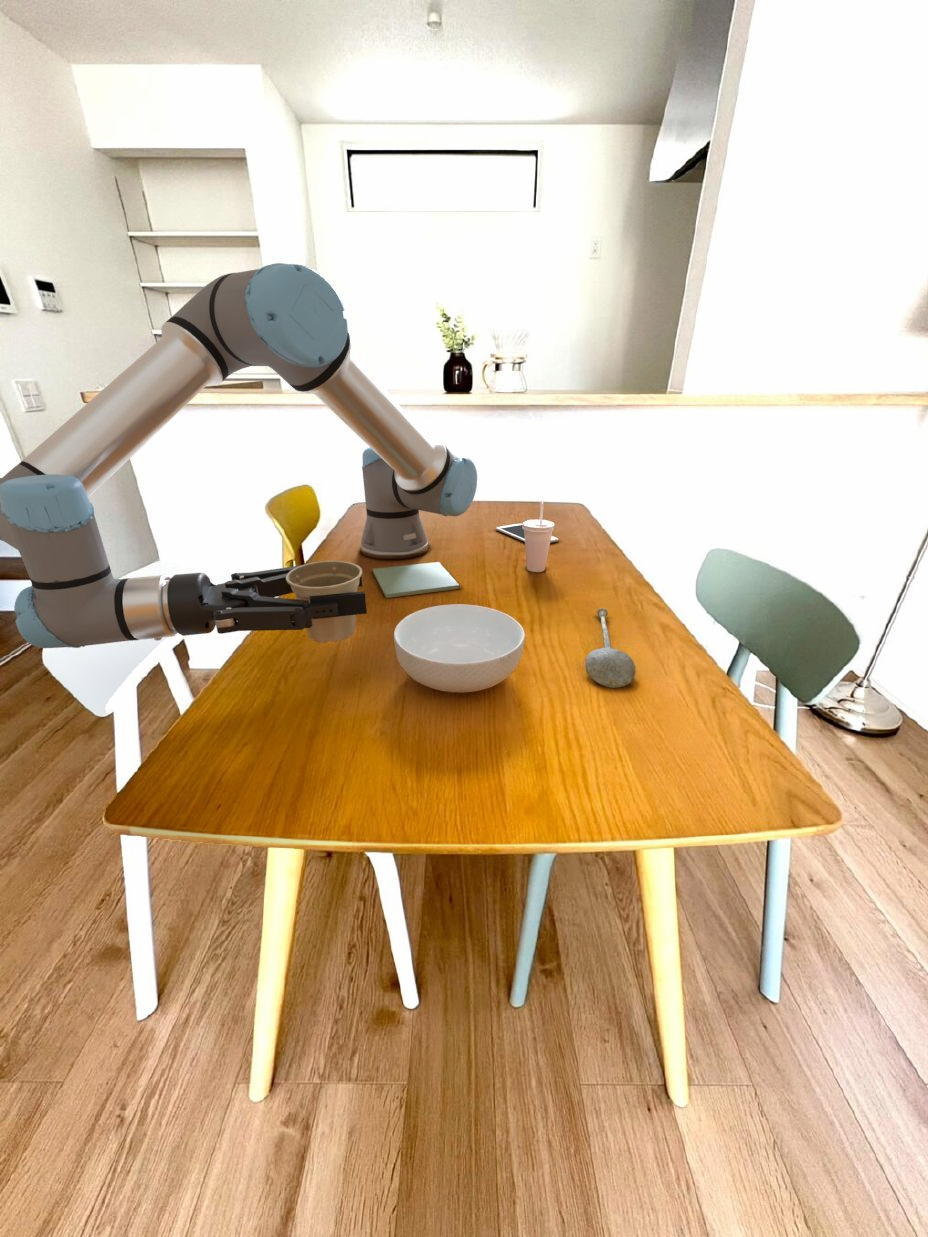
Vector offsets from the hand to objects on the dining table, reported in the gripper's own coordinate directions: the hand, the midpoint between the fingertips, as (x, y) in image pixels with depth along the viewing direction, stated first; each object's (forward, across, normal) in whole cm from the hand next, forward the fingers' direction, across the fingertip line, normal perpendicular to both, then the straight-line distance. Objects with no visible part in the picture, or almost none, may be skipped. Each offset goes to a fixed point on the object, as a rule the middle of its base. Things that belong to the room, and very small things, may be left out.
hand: (363, 588), depth 68 cm
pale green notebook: (+11, -31, -12) cm, 35 cm away
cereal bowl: (+12, +6, -12) cm, 17 cm away
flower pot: (-5, 0, -6) cm, 8 cm away
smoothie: (+36, -31, -12) cm, 49 cm away
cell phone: (+42, -55, -12) cm, 70 cm away
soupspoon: (+35, +3, -12) cm, 37 cm away
